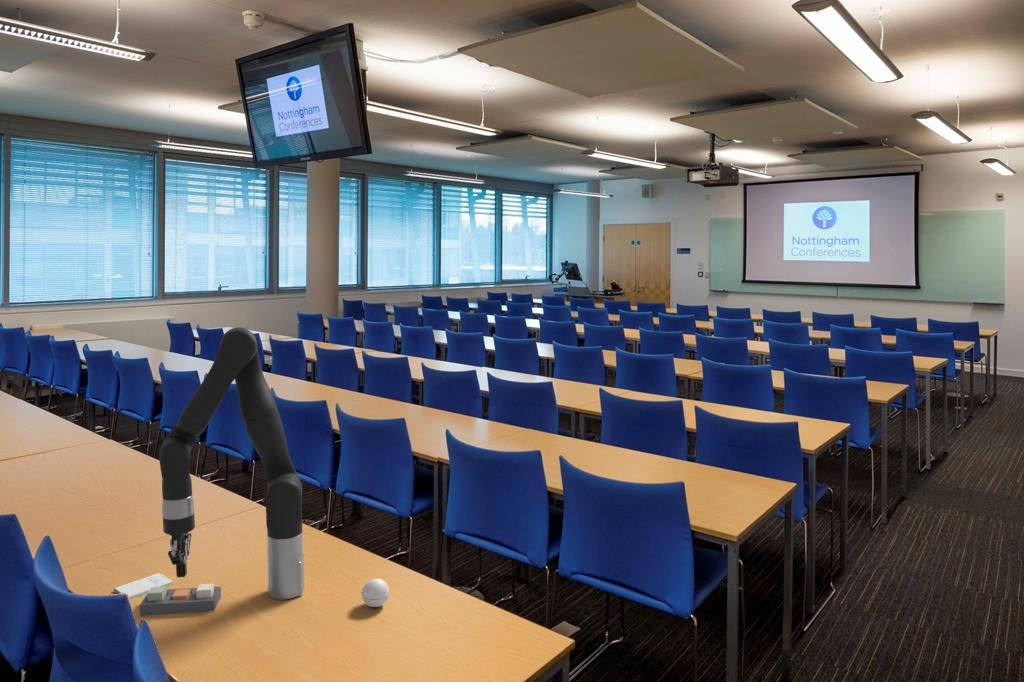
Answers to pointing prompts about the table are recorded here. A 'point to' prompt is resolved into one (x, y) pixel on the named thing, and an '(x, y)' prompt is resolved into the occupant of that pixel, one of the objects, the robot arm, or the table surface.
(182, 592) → the terracotta button
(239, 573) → the table surface
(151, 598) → the sage button
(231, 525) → the table surface
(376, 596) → the white ovoid
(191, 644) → the table surface
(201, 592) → the cream button
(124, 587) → the external hard drive
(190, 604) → the keypad
